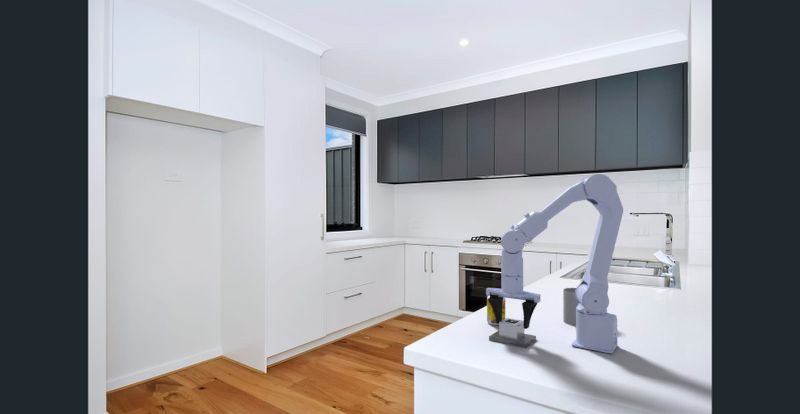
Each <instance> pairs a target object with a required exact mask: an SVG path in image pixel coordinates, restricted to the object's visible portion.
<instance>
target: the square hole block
mask: <svg viewBox="0 0 800 414" xmlns="http://www.w3.org/2000/svg"><path fill="white" fill-rule="evenodd" d="M511 320H512V321H516V323H515V324H514V323H509V321H511ZM523 324H524V320H519V319H515V318H511V317H505V319H504V320H502V321H500V322H499V325H498V331H499V337H503V338H507V339H512V340H519V339H520V338H522V337H523V336H524V334H525V329H524V325H523Z"/></svg>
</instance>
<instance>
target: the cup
mask: <svg viewBox="0 0 800 414" xmlns="http://www.w3.org/2000/svg"><path fill="white" fill-rule="evenodd" d="M576 288H577V287H566V288H563V295H562V296H563V298H562V300H563V303H562V304H563V306H562V307H563V309H562V310H563V313H562V314H563V323H564V324H566V325H569V326H575V327H576V307H577V306H578V304H579V301H578V300H577V299H576V297H575V290H576Z"/></svg>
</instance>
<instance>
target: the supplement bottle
mask: <svg viewBox="0 0 800 414" xmlns="http://www.w3.org/2000/svg"><path fill="white" fill-rule="evenodd" d="M486 297H487V298H486V322H487V323H488V324H489V325H492V326H499V324H497V323H496V318H495V315H494V312H493V309H492V307H491V305H490V303H489V301H488V298H490V296H486ZM504 319H506V298H504V297H503V303H502V320H504Z"/></svg>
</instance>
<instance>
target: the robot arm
mask: <svg viewBox="0 0 800 414" xmlns="http://www.w3.org/2000/svg"><path fill="white" fill-rule="evenodd" d="M585 200H586V201H587V202H589V203H591V204H592V206H593V207H594V208H595V209H596V211H598V213H599V217H598V221H597V224H596V230H595V233H594V238H593V241H592V245H591V249H590V253H589V254H590V255H589V258H588V262H587V266H586V271H585V273H584V274H583V275H582V277H581V281H580V283H579V284H578V285H577V286H576V287H575V288H576V290H575V297H576V299H577V300H578V301H579V304H578V306H577V307H576V326H575V329H576V330H575V331H576V333H575V340H573V342H572V343H571V346H572V347H575V348H576V347H577V348H580V349H586V350H592V351H595V352H600V353H606V354H614V352H615V350H616V349H617V348H618V346H619V344H618V315H616V314H614V313H610V312H608V307H609V306H610V298H609V296H608V291H609V281H608V280H609V279H608V277H609V271H610V268H611V262H612V260H613V255H614V251H615V246H616V243H617V239H618V234H619V231H620V227H621V222H622V219H623V215H624V207H623V204H622V201H621V198H620V195H619V194H618V187H617V184H616V183H615V182H614V181H613V180H612V179H611V178H610V177H609V176H607V175H606V174H602V173H596V174H592V175H591V176H586V177H585V178H584V177H583V178H582V179H581V180H580V181H579V182H577V183H574V184H572V185H571V186H569V187H568V188H567V189H565V190H564V191H563V192H562V193H560V194H559V195H558V196H557V197H556V198H555V199H553V200H552V201H551V202H550V203H548V205H546V206H544V208H543V209H542V210H541V211H531V212H530V213H529V212H526V213H525V214H523V216H524V218H522V219H521V220H520V221H519V222H518V223H516V224H515V225H513V224H512V225H511V226H510V229H511V230H507V231H506V232H504V233H502V235H501V240H500V245H501V247H502V249H501V260H500V261H501V264H500V265H501V267H500V268H501V269H500V270H501V273H500V275H501V278H500V280H501V288H496V287H487V288H485V295H486V297H488V296H490V298H488V301H489V303H490V305H491V307H492V309H493V312H494V315H495V318H496V323H497V324H499V322H500V321H502V303H503V297H504V298H505V299H513V300H518V301H519V300H520V301H522V303H521V306H522V312H523V313H522V314H523V321H524V324H523V325H524V330H527V329H529V328H530V325H531V324H530V323H531V320H532V316H533V313H534V311H535V310H536V307H537V305H538V303H541V294H540V293H534V292H529V291H525V290H524V258H523V249H524V248H525V244H526V243H530V242H531V241H532V240H534V239H535V238H536V237H538V235H540V234H541V233H542V232H544V231H545V230H547V228H548V225H549V223H548V222H549V221H550V220H551V219H552V218H554V217H555V216H556V215H558V214H559V213H562V211H563V210H565V209H566V208H567V207H569V206H570V205H571V204H573V203H577V202H581V201H585Z"/></svg>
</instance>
